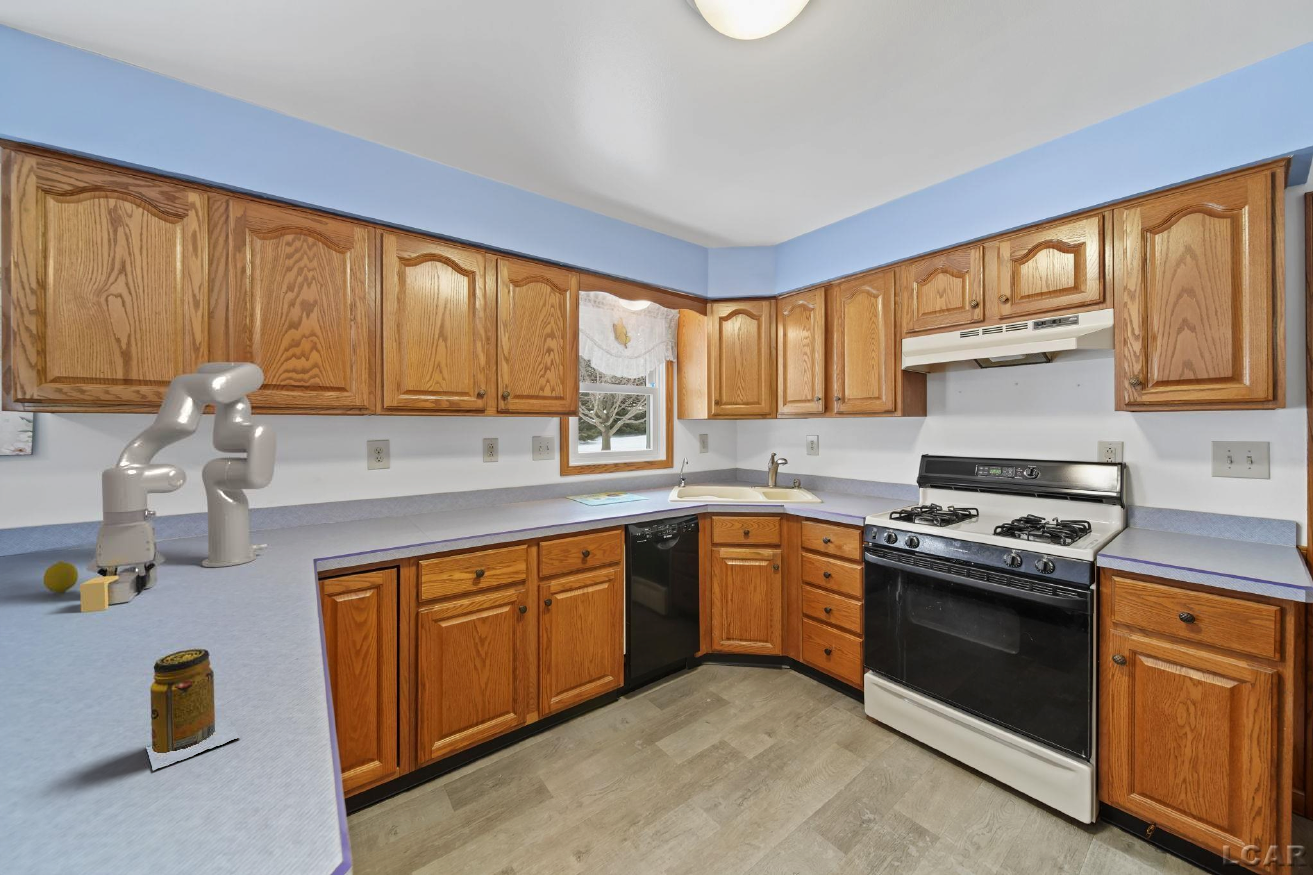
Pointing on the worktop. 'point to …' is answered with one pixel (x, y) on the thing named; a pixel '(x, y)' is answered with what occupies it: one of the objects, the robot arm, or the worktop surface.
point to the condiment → (182, 700)
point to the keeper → (95, 593)
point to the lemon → (60, 577)
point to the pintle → (133, 569)
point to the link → (128, 585)
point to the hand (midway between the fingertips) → (128, 591)
